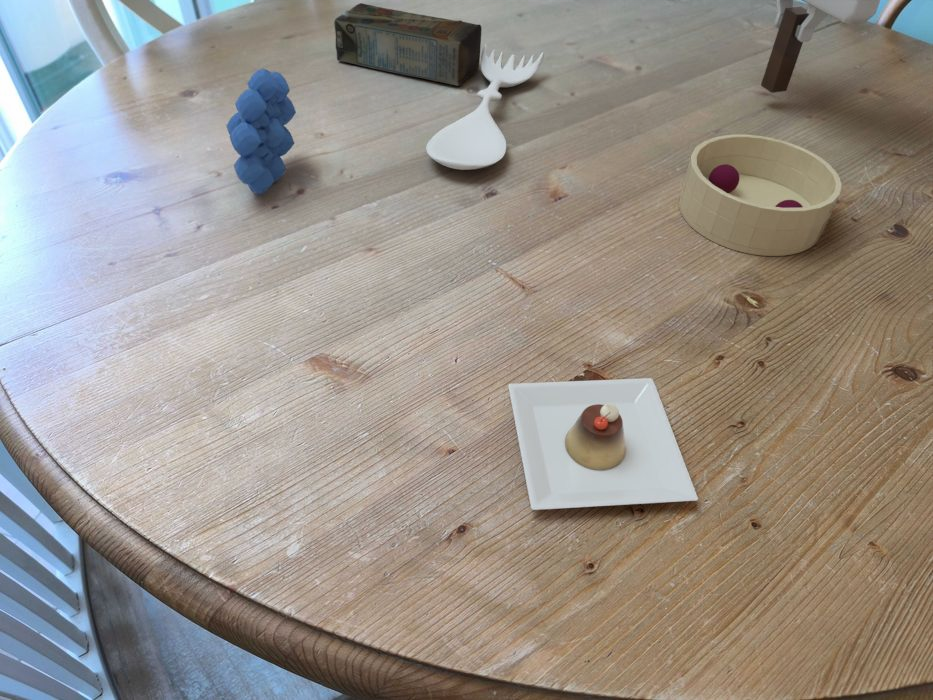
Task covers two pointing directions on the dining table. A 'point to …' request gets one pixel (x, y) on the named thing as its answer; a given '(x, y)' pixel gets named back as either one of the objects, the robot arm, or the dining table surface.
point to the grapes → (262, 130)
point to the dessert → (597, 444)
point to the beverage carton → (408, 43)
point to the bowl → (759, 195)
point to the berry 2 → (789, 204)
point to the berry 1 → (724, 177)
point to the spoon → (480, 119)
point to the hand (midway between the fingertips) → (791, 33)
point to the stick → (784, 51)
